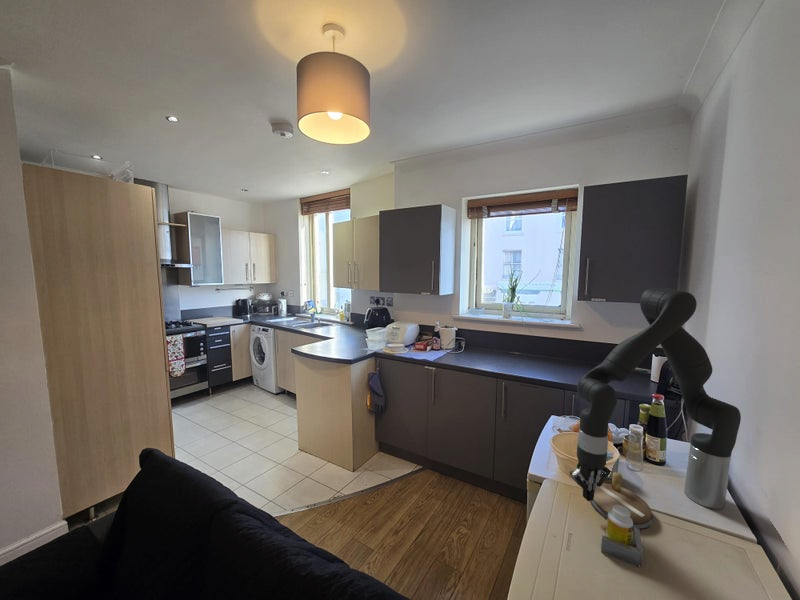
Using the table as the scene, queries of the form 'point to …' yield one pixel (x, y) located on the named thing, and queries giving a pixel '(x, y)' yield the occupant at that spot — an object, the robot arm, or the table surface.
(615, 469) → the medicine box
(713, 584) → the table surface
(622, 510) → the supplement bottle
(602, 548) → the centring stop
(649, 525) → the base
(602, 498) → the disc
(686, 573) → the table surface
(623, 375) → the robot arm
